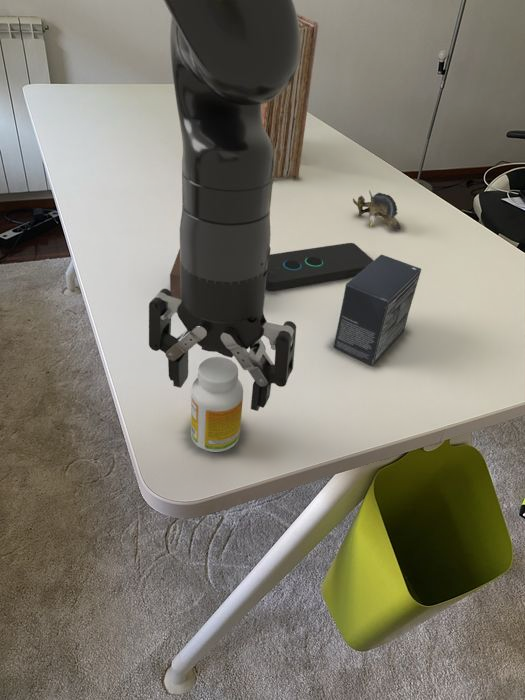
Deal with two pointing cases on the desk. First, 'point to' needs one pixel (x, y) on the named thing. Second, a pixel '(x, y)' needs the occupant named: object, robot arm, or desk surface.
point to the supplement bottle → (216, 405)
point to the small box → (376, 308)
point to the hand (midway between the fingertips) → (218, 393)
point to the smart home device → (315, 265)
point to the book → (292, 108)
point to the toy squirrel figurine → (379, 209)
